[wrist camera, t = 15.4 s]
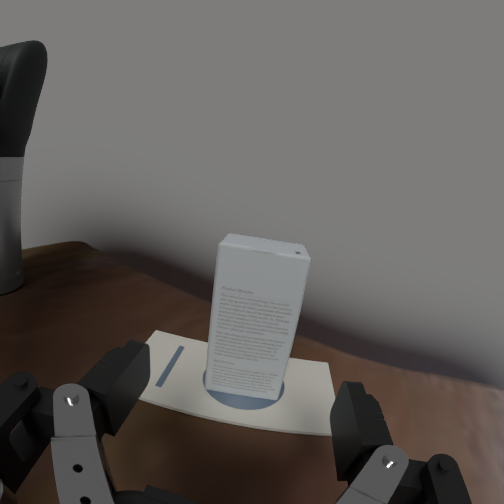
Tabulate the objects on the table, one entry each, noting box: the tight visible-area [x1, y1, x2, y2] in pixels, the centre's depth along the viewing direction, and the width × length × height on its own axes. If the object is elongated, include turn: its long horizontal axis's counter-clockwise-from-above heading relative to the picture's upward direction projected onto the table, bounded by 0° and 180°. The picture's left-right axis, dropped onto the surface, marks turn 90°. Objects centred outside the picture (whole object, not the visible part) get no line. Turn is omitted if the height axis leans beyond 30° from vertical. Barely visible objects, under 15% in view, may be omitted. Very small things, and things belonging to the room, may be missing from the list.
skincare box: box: [205, 233, 311, 400], centre depth 21 cm, size 6×4×12 cm
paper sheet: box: [139, 330, 335, 436], centre depth 23 cm, size 18×10×1 cm, turn 84°
